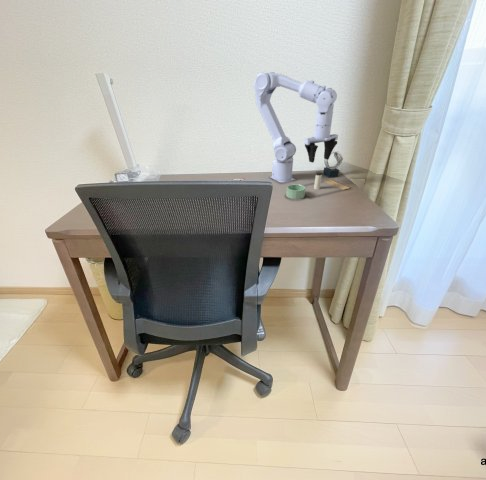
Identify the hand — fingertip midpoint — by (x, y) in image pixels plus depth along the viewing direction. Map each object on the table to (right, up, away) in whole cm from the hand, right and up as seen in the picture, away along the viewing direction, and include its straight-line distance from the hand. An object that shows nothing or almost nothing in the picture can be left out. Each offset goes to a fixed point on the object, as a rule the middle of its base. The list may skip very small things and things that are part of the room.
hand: (318, 160), depth 106 cm
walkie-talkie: (-31, -11, +5) cm, 34 cm away
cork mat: (+1, -11, +1) cm, 11 cm away
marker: (-1, -12, +1) cm, 12 cm away
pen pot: (-11, -16, -4) cm, 20 cm away
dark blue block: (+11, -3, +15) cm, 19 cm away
